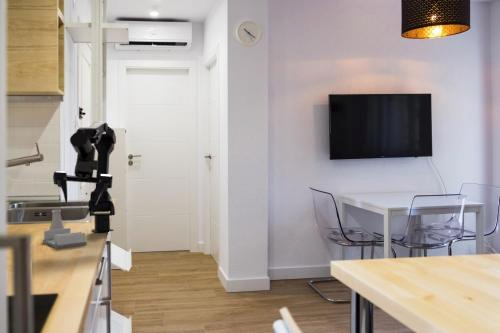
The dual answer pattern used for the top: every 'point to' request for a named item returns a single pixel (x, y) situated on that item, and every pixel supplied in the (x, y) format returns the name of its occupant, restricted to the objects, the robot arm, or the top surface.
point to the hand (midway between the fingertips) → (80, 203)
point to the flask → (56, 220)
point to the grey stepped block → (63, 238)
